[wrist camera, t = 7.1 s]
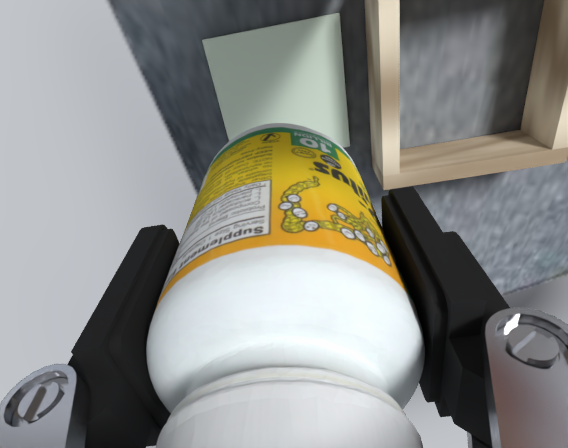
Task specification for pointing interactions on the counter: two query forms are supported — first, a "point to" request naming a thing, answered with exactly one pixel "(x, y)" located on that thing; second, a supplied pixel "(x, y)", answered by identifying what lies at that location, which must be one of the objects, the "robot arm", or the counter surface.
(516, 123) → the counter surface
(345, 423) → the supplement bottle
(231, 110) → the green mat
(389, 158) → the birch box
